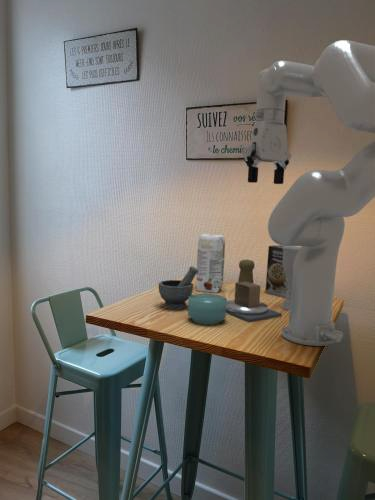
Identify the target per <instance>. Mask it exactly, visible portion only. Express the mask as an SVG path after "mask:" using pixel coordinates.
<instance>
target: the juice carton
mask: <svg viewBox="0 0 375 500" xmlns="http://www.w3.org/2000/svg"><path fill="white" fill-rule="evenodd" d="M225 250H226V240H225V235H224V234H209V233H202V234H199V237H198V242H197V253H196V255H197V256H196V269H197V270H198V273H197V274H196V275H195V278H196V279H195V280H196V281H195V284H196V288H197V289H196V290H197V292H204V293H211V294H213V293H214V294H217V293H218V292H220V291H221V290H222V287H223V284H224V274H225V255H226V254H225V253H226V251H225Z"/></svg>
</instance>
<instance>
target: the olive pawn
mask: <svg viewBox="0 0 375 500" xmlns="http://www.w3.org/2000/svg"><path fill="white" fill-rule="evenodd" d="M238 268H239V269H240V271H239V275H238V280H237V282H250V283H253V284H254V271H253V270H254V269H255V262H254V261H253V260H252V259H241V260H239V263H238Z"/></svg>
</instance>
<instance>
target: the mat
mask: <svg viewBox="0 0 375 500" xmlns="http://www.w3.org/2000/svg"><path fill="white" fill-rule="evenodd" d="M226 314H228V315H231V316H232V317H234V318H238V319H239V320H242V321H245V322H247V323H253V322H259V321H264V320H269V319H275V318H279V317H282V315H283V313H282V312H278V311H275V310H273V309H271V308H268V312H267V313H265V314H261V315H242V314H237V313H233V312H230V311H228V310H226Z"/></svg>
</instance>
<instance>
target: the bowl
mask: <svg viewBox="0 0 375 500" xmlns="http://www.w3.org/2000/svg"><path fill="white" fill-rule="evenodd" d="M187 301H188V302H187V315H188V317H189V318H191V320H192V322H193V321H194V322H193V323H195V324H197V323H198V325H204V326H213V325H214V324H216V325H218V324H221V323H222V320H224V319H225V318H226V317H227V313H226V307H227V301H228V299H227V297H225V296H222V295H220V294H216V293H214V294H213V293H196V294H195V293H194V294H191V296H189V298H188V300H187ZM220 322H221V323H220Z"/></svg>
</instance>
